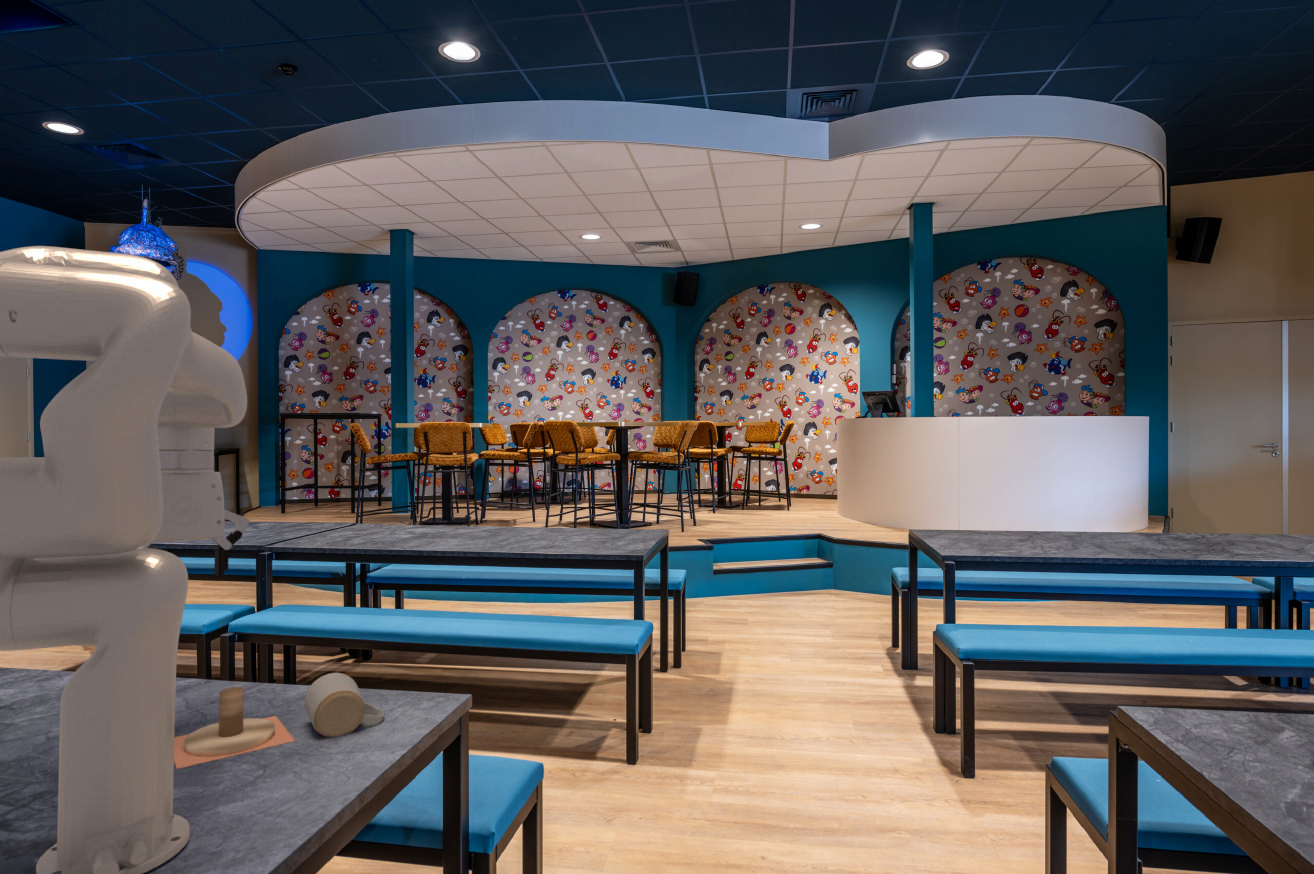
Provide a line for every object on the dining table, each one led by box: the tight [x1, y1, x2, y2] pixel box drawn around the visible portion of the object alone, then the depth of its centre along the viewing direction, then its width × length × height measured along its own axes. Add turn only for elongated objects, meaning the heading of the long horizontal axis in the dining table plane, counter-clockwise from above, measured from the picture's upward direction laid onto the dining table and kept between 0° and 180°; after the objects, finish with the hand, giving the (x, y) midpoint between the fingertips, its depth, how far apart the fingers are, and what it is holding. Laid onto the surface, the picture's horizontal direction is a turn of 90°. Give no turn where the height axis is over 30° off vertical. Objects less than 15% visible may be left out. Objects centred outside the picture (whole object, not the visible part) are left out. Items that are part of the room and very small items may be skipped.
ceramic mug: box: [304, 672, 385, 738], centre depth 106 cm, size 11×8×8 cm
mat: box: [174, 715, 296, 770], centre depth 100 cm, size 12×14×1 cm
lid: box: [184, 686, 275, 757], centre depth 100 cm, size 11×11×7 cm
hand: (181, 579), depth 103 cm, fingers open, 9 cm apart
